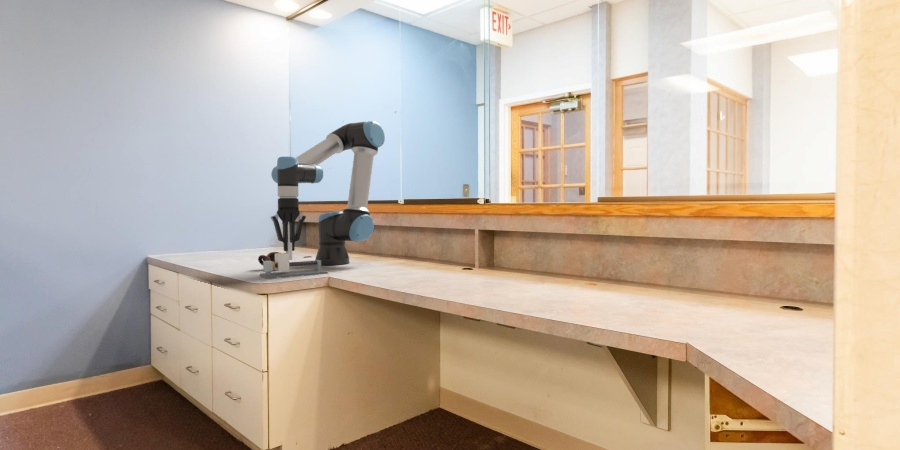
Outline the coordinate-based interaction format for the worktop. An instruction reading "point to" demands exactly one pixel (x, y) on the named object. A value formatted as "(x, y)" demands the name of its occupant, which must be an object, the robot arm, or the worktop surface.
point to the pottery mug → (267, 257)
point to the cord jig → (270, 266)
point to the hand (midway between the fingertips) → (289, 259)
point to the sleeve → (282, 261)
